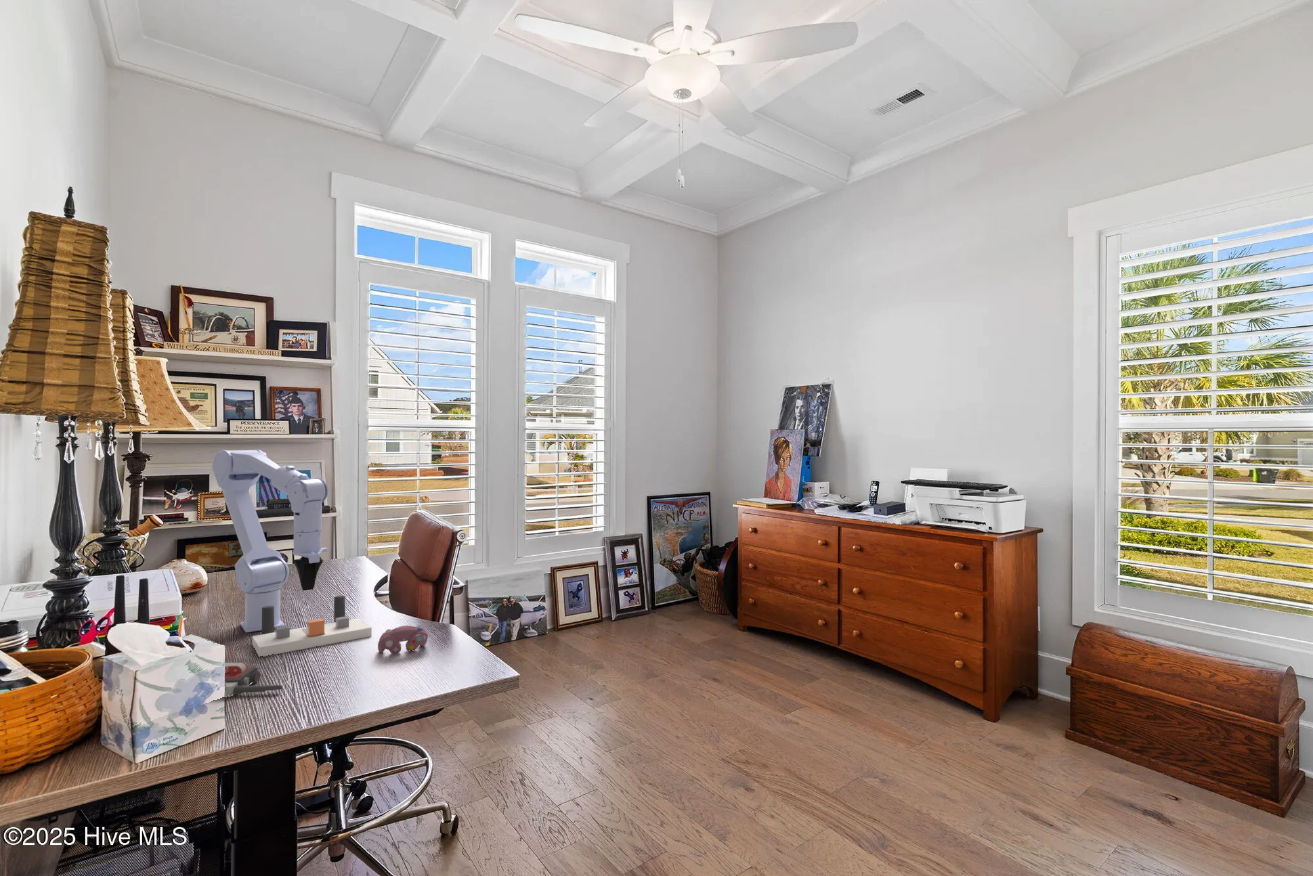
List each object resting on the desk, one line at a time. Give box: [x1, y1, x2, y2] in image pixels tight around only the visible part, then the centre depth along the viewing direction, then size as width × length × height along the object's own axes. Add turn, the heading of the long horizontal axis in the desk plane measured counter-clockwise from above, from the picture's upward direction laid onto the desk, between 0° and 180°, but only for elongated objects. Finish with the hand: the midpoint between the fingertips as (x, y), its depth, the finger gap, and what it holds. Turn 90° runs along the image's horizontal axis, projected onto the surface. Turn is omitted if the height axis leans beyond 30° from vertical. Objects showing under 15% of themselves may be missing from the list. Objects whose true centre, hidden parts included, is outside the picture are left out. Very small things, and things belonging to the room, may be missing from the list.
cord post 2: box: [333, 595, 346, 623], centre depth 153 cm, size 2×2×7 cm
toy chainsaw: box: [224, 661, 283, 696], centre depth 114 cm, size 9×4×20 cm
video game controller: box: [377, 625, 429, 655], centre depth 134 cm, size 10×5×7 cm, turn 118°
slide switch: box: [306, 618, 325, 637], centre depth 139 cm, size 2×3×3 cm, turn 130°
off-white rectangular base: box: [251, 615, 373, 658], centre depth 141 cm, size 10×22×4 cm, turn 130°
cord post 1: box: [261, 606, 275, 635], centre depth 144 cm, size 2×2×7 cm
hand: (307, 589), depth 146 cm, fingers closed
